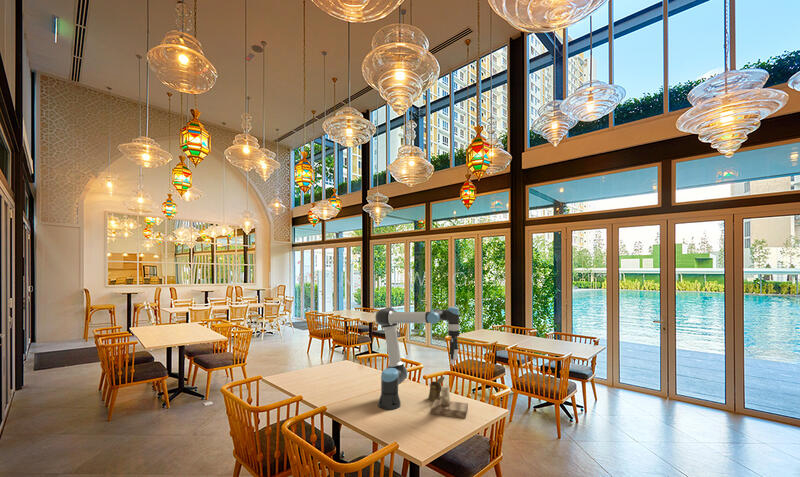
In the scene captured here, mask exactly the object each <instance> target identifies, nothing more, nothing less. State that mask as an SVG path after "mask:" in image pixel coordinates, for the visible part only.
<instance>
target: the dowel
mask: <svg viewBox="0 0 800 477" xmlns="http://www.w3.org/2000/svg"><path fill="white" fill-rule="evenodd" d="M450 391H451V388H450V386H449V385H441V392H440V395H441V405H442V406H447V407H448V406H450V401H451V400H450V395H451V394H450V393H451V392H450Z"/></svg>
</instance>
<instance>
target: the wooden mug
mask: <svg viewBox="0 0 800 477" xmlns="http://www.w3.org/2000/svg"><path fill="white" fill-rule="evenodd" d="M444 381H445V376H440V377H439V378H438V379H437V380H436V381H431V382H430V383H429V393H428V398H427V399H428V400H430V401H433V402H434V401H435V400H441V386H442V383H443V382H444Z"/></svg>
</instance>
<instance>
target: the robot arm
mask: <svg viewBox="0 0 800 477" xmlns="http://www.w3.org/2000/svg"><path fill="white" fill-rule="evenodd" d="M459 309H460V308H459V307H458V306H449V307H447V309H439V308H435V309H434V308H433V309H431V310H430V311H406V312H405V311H404V312H403V311H400V312H399V311H397V309H395V308H394V307H392V306H391V307H390V306H389V307H385V308H380V309H379V310H377V312H376V313H375V316H374V317H375V321H376V323H377V324H378V325H380V326H381V329H383V330H384V334H385V342H386V350H387V356H388V364H387V368H384V369H383V370H382V371H381V375H380V380H381V381H380V382H381V384H380V389H381V390H380V391H381V392H380V397H379V399H378V403H377V404H378V405H377V406H378V407H379V408H380V409H383V410H388V411H389V410H396V409H399V408H400V407H401V398H400V395H399V385H400V384H401V383H403V382H405V380H406V379H407V377H408V369H407V367H406V366H405V364H404V362H403V361H402V358H401V353H400V352H401V351H400V346H399V339H398V334H397V331H398V330H397V327H398V324H432V325H434V324H437V323H439V322H441V321H444V322H447V329H448V330H447V332H448V337H451V338H450V339H449V342H450V344H449V352H448V354H449V356H450V358H449V360H450V361H449V362H450V363H449V364H450V365H455V363H456V362H455V360H458V358H459V356H458V355H459V354H458V353H459V352H458V350H459V344H458V337H459V336H460V327H461V325H460V310H459Z"/></svg>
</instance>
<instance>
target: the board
mask: <svg viewBox="0 0 800 477" xmlns="http://www.w3.org/2000/svg"><path fill="white" fill-rule="evenodd" d="M430 407H431V415H438V416H447V417H455V418H462V419H466V418H467V414H468V410H469V404H468V402H459V401H452V400H450V406H448V407H447V406H442V405H441V400H435V401H433V403H432V405H431V406H430Z"/></svg>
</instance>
